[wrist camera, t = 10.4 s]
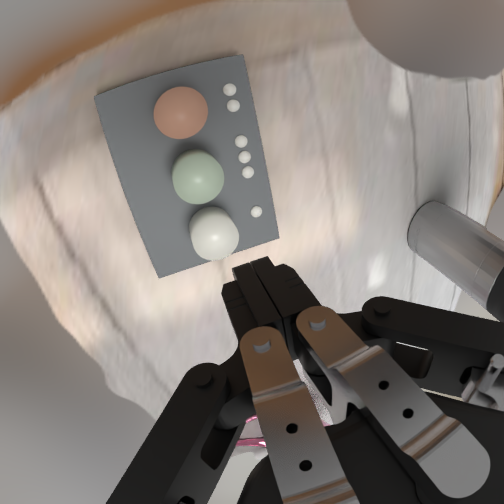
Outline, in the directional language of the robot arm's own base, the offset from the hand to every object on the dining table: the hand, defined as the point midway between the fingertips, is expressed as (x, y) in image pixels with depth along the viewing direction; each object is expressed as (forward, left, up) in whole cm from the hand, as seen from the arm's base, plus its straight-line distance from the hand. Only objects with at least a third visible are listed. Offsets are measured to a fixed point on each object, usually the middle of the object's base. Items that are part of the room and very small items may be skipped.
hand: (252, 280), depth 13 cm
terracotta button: (0, -6, -18) cm, 19 cm away
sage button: (0, 0, -18) cm, 18 cm away
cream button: (0, +6, -18) cm, 19 cm away
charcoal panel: (0, 0, -21) cm, 21 cm away
